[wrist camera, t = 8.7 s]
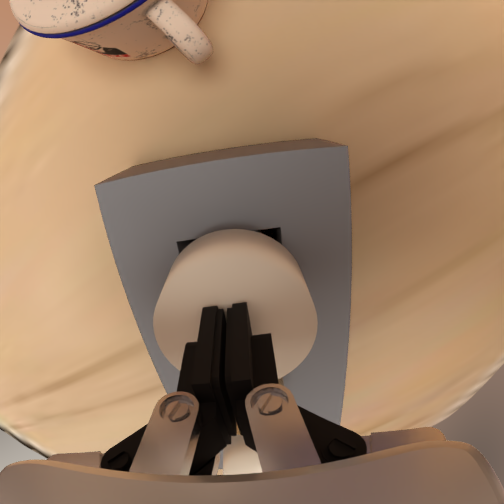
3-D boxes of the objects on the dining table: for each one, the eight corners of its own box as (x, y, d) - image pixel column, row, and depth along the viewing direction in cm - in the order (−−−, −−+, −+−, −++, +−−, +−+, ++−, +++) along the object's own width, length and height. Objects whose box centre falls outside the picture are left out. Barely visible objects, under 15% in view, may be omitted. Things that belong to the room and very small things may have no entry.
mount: (316, 138, 19) (347, 145, 13) (323, 408, 29) (335, 454, 24) (132, 166, 19) (94, 185, 13) (210, 422, 29) (207, 469, 24)
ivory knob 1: (281, 189, 19) (314, 246, 10) (290, 282, 21) (317, 378, 13) (177, 204, 19) (132, 271, 11) (197, 294, 21) (178, 393, 13)
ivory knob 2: (295, 361, 24) (315, 454, 16) (298, 407, 27) (313, 488, 19) (218, 371, 24) (213, 465, 16) (231, 415, 27) (231, 496, 19)
